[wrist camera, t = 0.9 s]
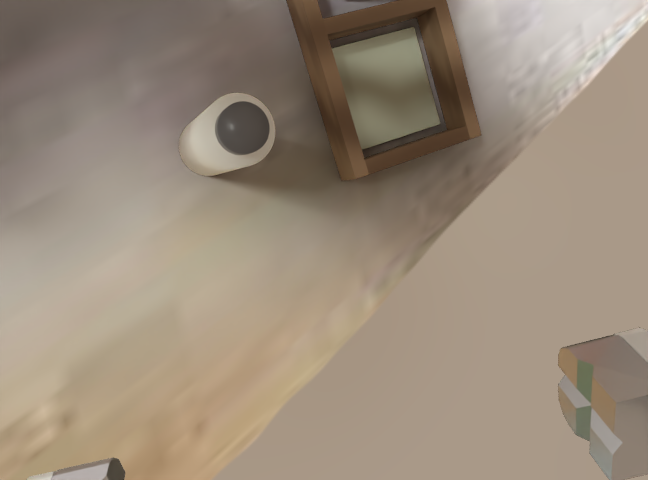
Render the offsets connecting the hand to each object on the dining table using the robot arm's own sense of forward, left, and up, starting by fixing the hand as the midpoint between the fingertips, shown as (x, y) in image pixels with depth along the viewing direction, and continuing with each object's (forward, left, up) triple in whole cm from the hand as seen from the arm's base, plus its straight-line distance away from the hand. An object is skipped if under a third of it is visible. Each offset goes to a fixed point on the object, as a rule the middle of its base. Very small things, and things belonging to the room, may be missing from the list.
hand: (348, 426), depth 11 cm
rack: (-13, +22, -37) cm, 45 cm away
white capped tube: (-7, +6, -37) cm, 38 cm away
